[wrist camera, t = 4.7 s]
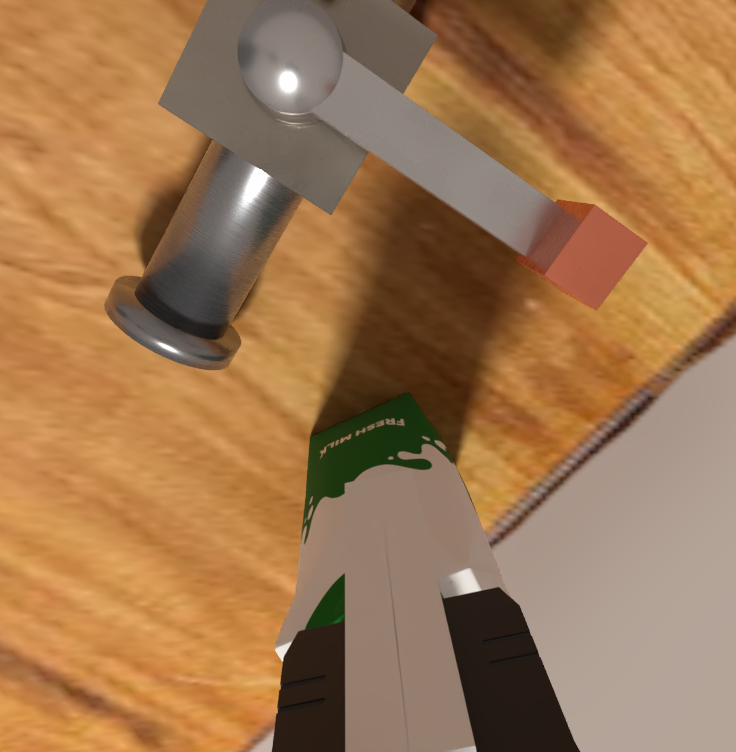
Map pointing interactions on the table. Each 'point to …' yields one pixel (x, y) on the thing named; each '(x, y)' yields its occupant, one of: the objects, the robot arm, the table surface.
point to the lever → (428, 150)
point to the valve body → (248, 177)
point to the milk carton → (369, 459)
